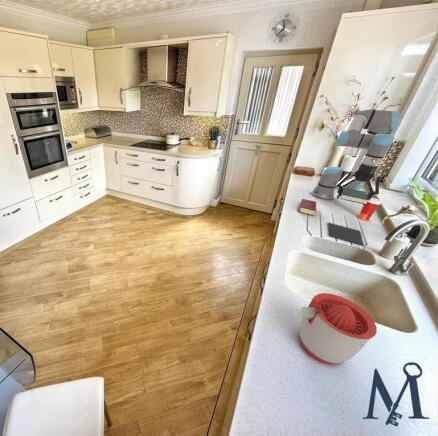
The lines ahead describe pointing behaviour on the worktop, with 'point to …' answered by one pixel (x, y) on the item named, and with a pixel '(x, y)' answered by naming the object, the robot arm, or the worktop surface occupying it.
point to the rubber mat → (345, 234)
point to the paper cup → (369, 209)
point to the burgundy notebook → (307, 207)
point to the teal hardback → (354, 195)
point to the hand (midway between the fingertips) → (350, 201)
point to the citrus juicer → (334, 328)
